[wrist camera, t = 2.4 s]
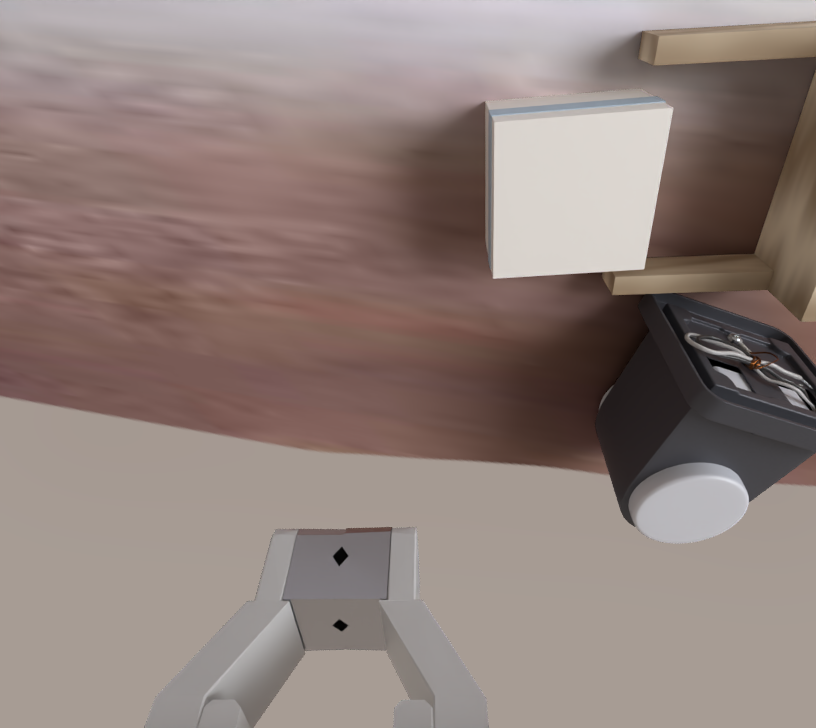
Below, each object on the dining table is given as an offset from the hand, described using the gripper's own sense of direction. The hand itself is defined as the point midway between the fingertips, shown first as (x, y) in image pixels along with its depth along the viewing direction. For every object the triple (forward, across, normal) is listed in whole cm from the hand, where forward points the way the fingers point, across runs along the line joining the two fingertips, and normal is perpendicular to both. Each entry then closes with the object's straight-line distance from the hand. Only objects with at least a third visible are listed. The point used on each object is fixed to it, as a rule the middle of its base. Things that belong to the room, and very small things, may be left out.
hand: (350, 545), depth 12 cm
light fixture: (+25, -18, +15) cm, 34 cm away
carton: (+25, -9, 0) cm, 27 cm away
